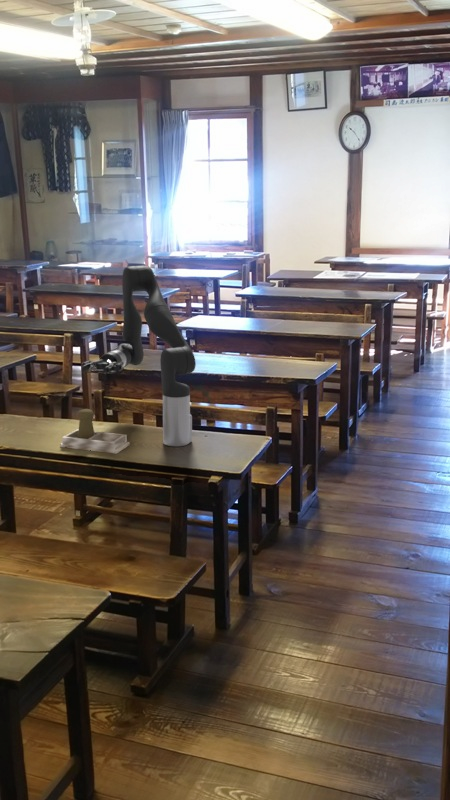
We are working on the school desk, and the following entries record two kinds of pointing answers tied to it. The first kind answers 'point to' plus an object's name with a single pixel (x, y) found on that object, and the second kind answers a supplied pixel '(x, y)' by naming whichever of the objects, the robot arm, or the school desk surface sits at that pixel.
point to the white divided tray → (96, 442)
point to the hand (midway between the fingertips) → (94, 369)
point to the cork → (85, 424)
